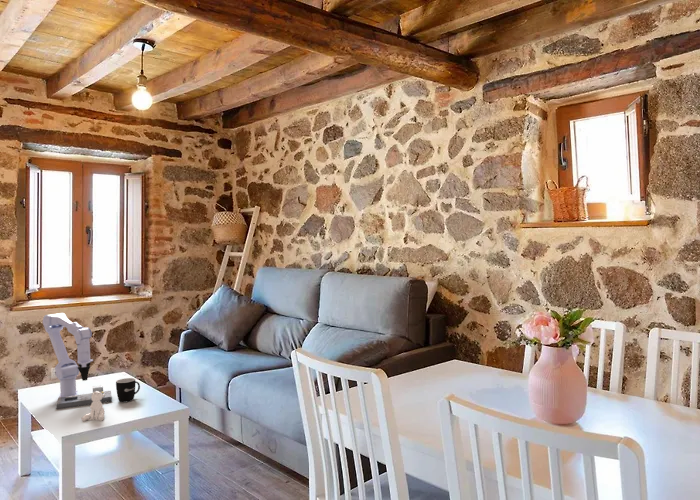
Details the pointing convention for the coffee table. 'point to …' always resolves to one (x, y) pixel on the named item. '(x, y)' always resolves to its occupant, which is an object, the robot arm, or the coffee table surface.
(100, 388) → the plug
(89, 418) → the seated beast figurine
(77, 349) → the robot arm
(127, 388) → the mug
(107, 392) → the panel
